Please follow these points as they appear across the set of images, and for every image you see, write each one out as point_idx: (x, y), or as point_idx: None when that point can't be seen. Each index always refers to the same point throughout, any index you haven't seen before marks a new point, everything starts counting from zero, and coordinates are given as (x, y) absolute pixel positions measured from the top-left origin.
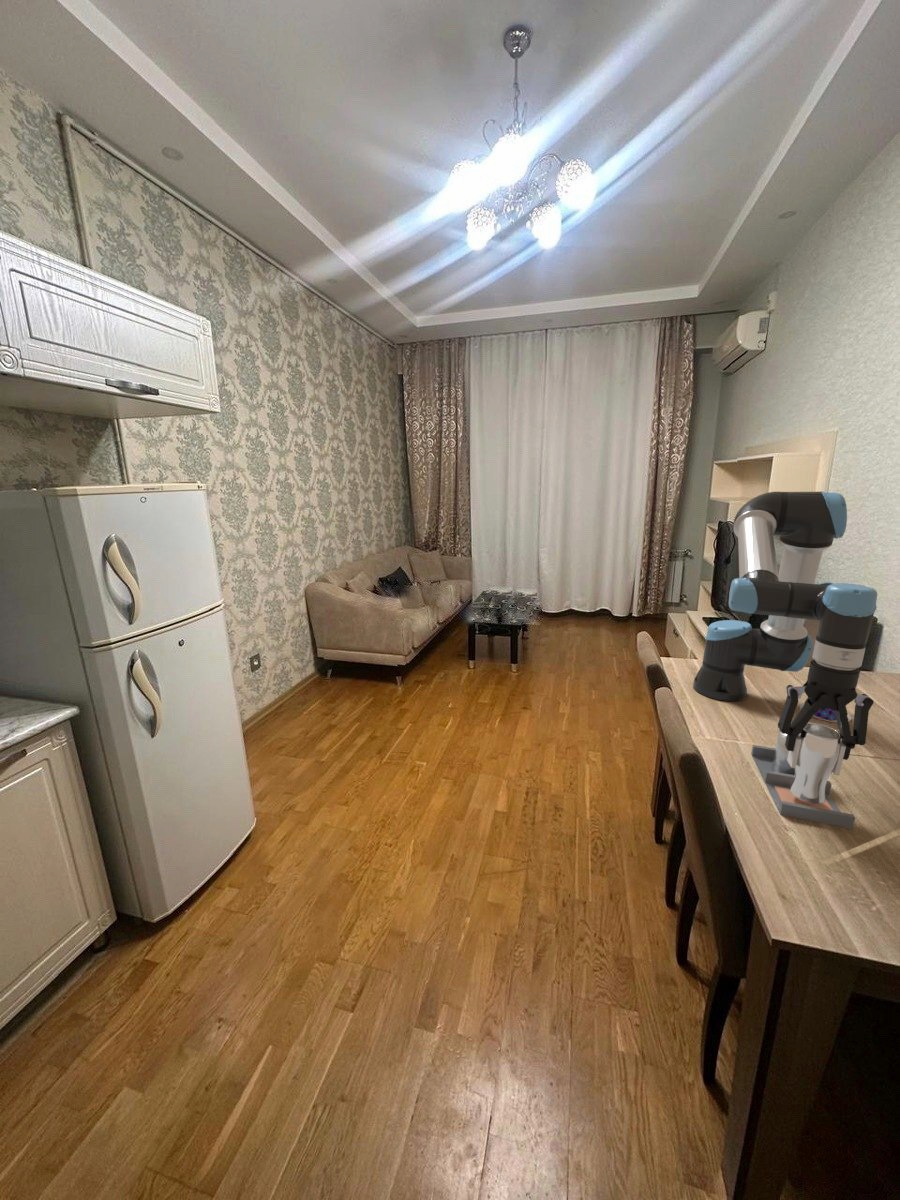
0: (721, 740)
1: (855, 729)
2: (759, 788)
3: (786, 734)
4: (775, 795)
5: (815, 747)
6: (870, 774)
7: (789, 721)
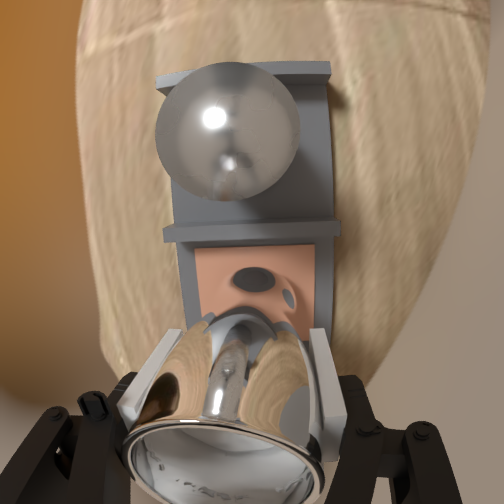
0: (118, 43)
1: (407, 498)
2: (166, 253)
3: (178, 154)
4: (191, 290)
5: (202, 477)
6: (456, 81)
7: (63, 494)
